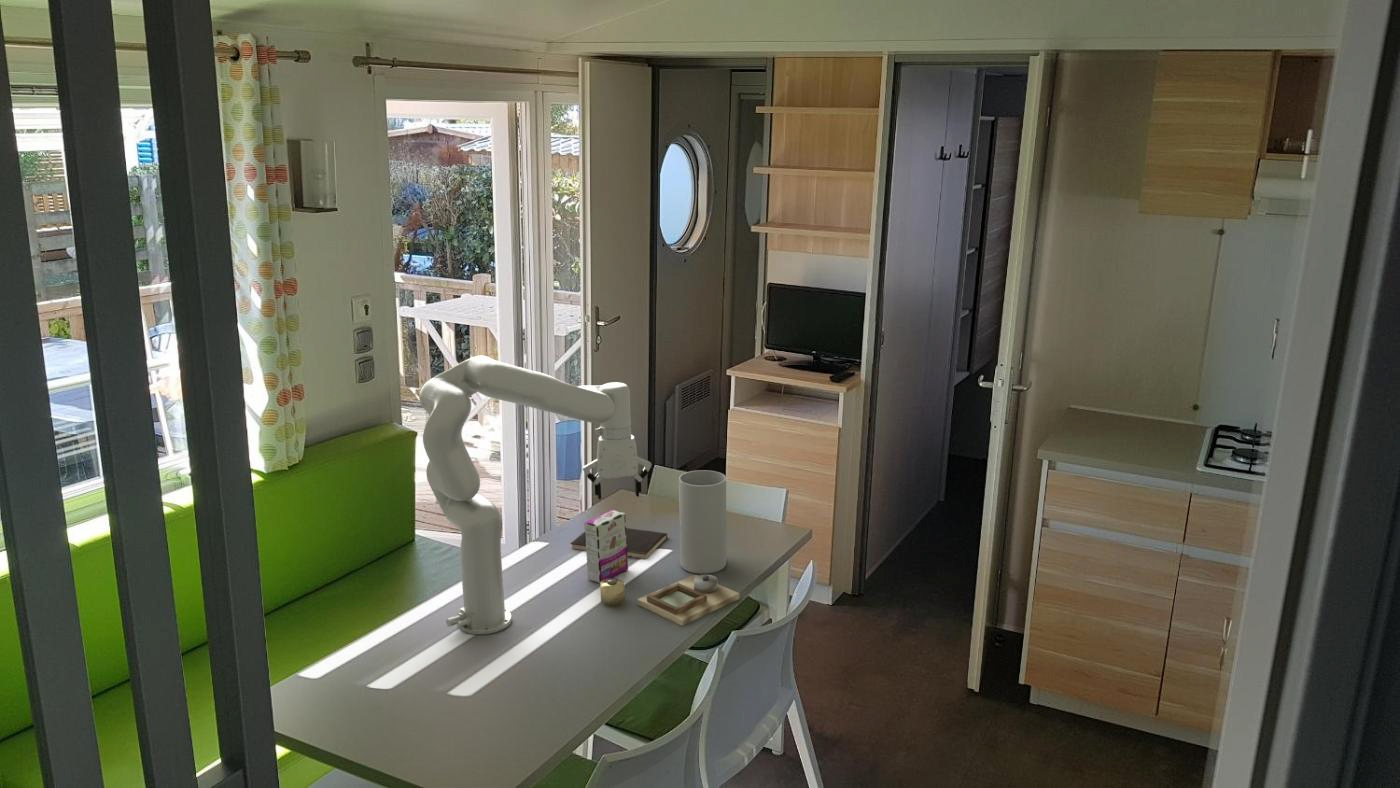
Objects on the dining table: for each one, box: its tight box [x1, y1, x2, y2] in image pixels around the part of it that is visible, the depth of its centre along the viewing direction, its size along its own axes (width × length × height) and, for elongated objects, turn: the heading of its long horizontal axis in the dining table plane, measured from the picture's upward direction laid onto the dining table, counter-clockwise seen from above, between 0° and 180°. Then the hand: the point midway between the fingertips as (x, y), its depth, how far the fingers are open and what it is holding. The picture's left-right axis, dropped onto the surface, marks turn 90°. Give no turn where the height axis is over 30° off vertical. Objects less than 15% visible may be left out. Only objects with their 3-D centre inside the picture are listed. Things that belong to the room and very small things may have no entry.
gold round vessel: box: [599, 577, 626, 608], centre depth 258 cm, size 6×6×6 cm
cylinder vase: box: [678, 469, 728, 575], centre depth 276 cm, size 12×12×25 cm
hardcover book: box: [569, 527, 668, 560], centre depth 294 cm, size 16×23×2 cm
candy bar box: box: [584, 509, 629, 584], centre depth 272 cm, size 11×5×16 cm, turn 143°
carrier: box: [637, 574, 740, 626], centre depth 257 cm, size 20×16×5 cm
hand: (618, 496), depth 263 cm, fingers open, 9 cm apart
